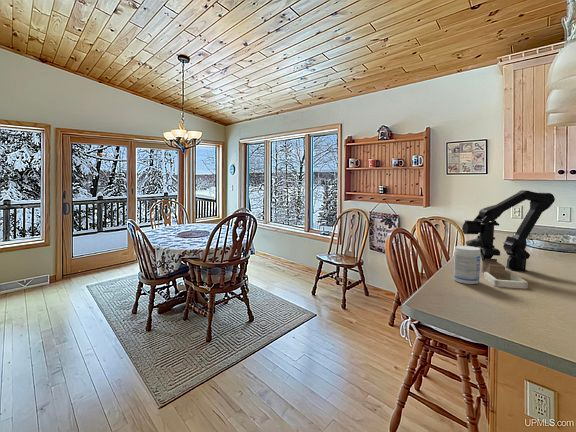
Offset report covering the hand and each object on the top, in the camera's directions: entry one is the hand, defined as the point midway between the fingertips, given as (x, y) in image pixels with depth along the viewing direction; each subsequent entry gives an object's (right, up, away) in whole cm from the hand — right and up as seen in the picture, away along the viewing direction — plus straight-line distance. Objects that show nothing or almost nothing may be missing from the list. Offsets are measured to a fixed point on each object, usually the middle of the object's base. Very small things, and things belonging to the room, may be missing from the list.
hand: (484, 265), depth 146 cm
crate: (-2, -3, -9) cm, 9 cm away
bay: (-5, -4, -20) cm, 21 cm away
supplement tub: (-20, -4, -18) cm, 28 cm away
